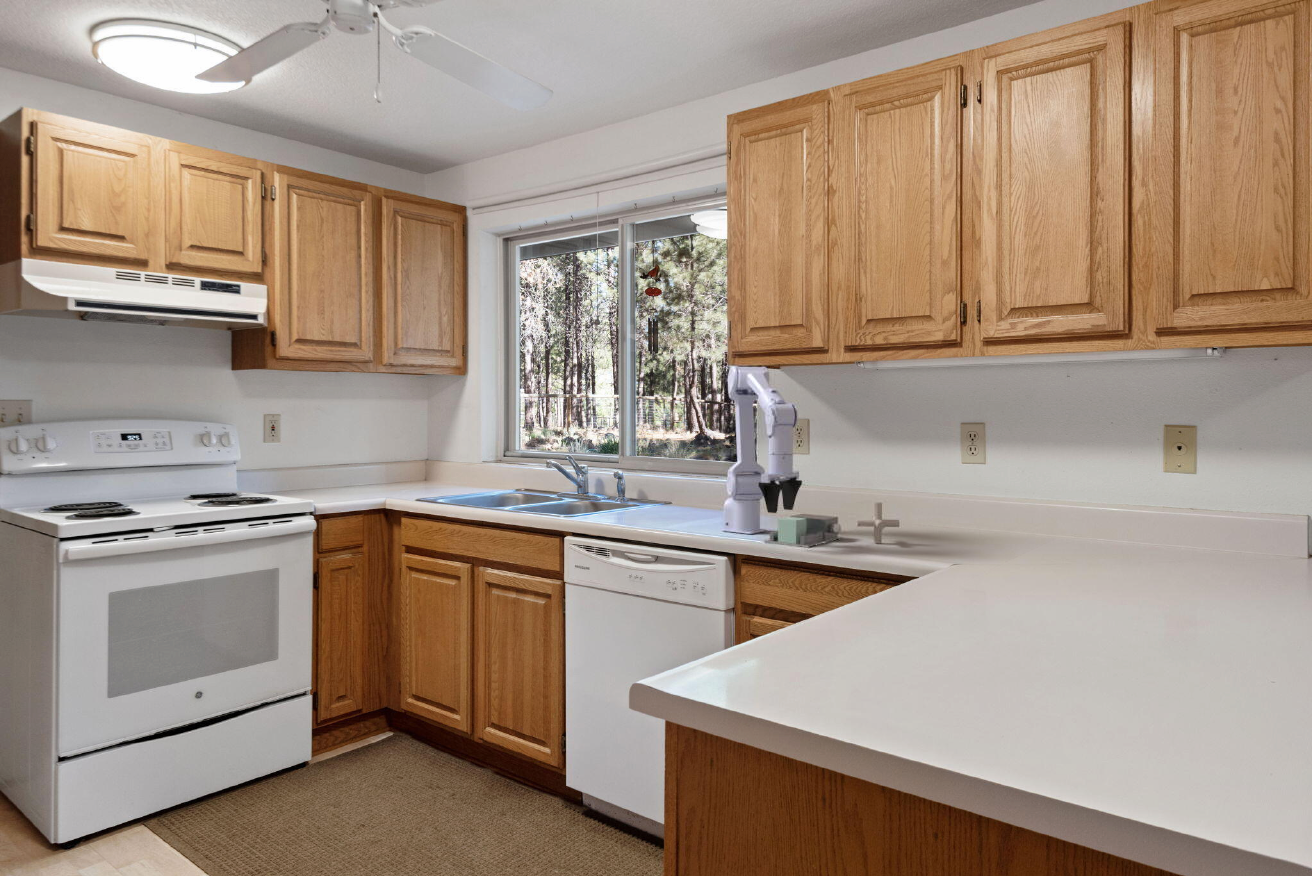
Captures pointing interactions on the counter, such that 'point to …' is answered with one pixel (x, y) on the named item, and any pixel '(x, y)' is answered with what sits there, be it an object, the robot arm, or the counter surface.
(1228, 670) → the counter surface
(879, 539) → the pipe connector
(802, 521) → the pale mint cube
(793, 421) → the robot arm
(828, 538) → the motor mount
